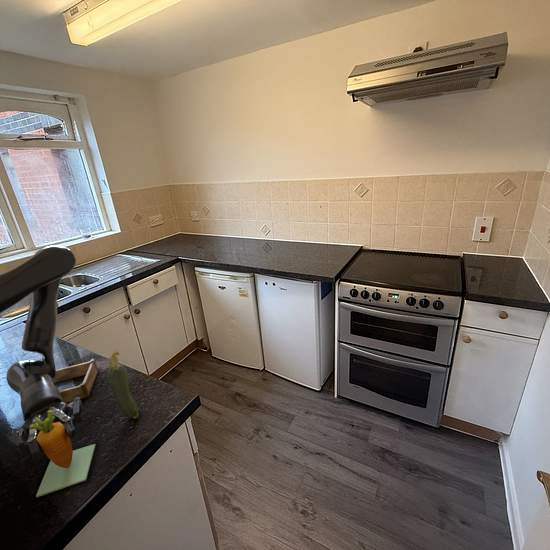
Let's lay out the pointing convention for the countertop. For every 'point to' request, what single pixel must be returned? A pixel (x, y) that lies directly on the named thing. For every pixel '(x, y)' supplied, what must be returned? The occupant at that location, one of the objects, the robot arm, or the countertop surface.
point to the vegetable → (121, 387)
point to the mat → (67, 472)
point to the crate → (76, 371)
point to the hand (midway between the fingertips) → (55, 444)
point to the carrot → (54, 441)
